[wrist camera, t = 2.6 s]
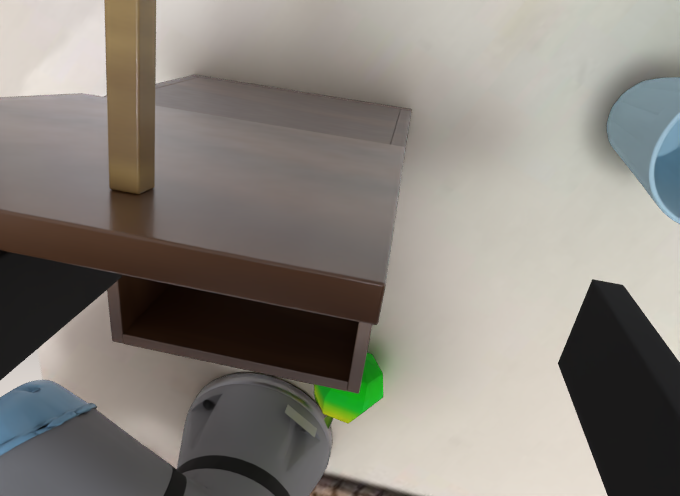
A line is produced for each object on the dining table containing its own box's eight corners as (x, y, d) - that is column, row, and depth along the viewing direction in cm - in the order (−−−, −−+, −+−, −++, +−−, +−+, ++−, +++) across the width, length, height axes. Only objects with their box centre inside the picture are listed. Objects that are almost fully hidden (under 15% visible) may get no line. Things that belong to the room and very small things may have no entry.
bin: (377, 292, 42) (358, 394, 31) (194, 256, 44) (111, 341, 32) (411, 109, 35) (404, 153, 24) (193, 74, 37) (87, 99, 25)
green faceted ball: (350, 390, 38) (317, 465, 41) (410, 376, 41) (374, 447, 45) (308, 330, 42) (282, 402, 46) (365, 322, 46) (336, 390, 50)
